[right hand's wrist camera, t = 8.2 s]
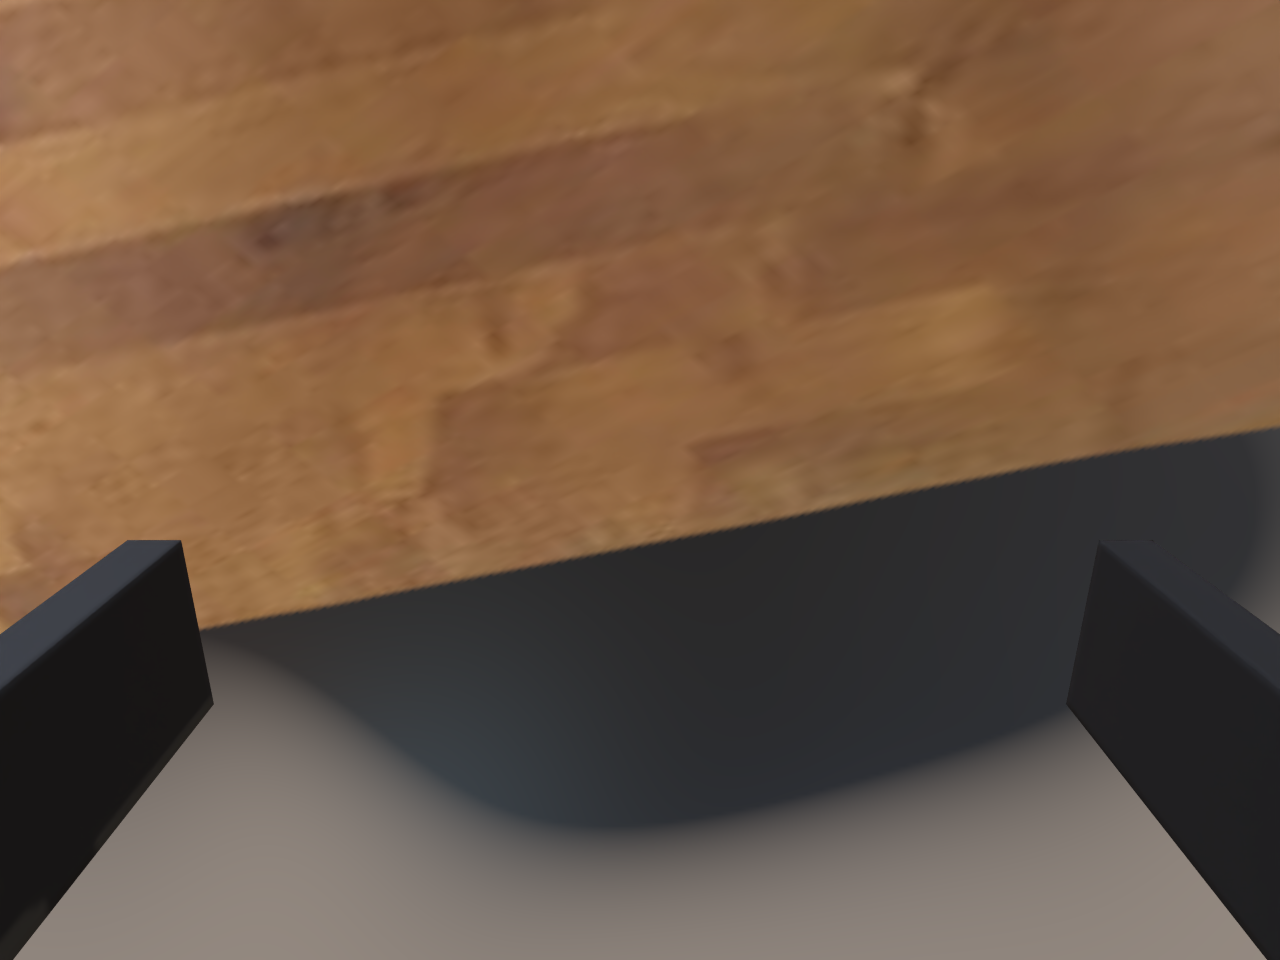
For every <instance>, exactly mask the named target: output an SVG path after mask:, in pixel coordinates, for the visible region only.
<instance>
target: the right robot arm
mask: <svg viewBox="0 0 1280 960" xmlns="http://www.w3.org/2000/svg"><path fill="white" fill-rule="evenodd" d="M213 704H214V703H213V698H212V693H211V688H210V683H209V678H208V673H207V668H206V663H205V658H204V653H203V648H202V643H201V638H200V633H199V628H198V623H197V618H196V613H195V608H194V603H193V598H192V593H191V588H190V583H189V578H188V573H187V568H186V563H185V558H184V553H183V548H182V543H181V540H127V541H126V542H125V543H123V544H122V545H120V546H119V547H118V548H116V549H115V550H114V551H112V552H111V553H110V554H108V555H107V556H106V557H104V558H103V559H102V560H100V561H99V562H97V563H96V564H95V565H93V566H92V567H91V568H89V569H88V570H87V571H85V572H84V573H83V574H81V575H80V576H79V577H77V578H76V579H74V580H73V581H72V582H70V583H69V584H68V585H66V586H65V587H64V588H62V589H61V590H60V591H58V592H57V593H56V594H54V595H53V596H51V597H50V598H49V599H47V600H46V601H45V602H43V603H42V604H41V605H39V606H38V607H37V608H35V609H34V610H33V611H31V612H30V613H28V614H27V615H26V616H24V617H23V618H22V619H20V620H19V621H18V622H16V623H15V624H14V625H12V626H11V627H10V628H8V629H7V630H5V631H4V632H3V633H1V634H0V960H13V959H14V958H15V956H16V955H17V954H18V953H19V951H20V950H21V949H22V947H23V946H24V945H25V944H26V942H27V941H28V940H29V939H30V937H31V936H32V935H33V934H34V932H35V931H36V930H37V928H38V927H39V926H40V925H41V923H42V922H43V921H44V920H45V918H46V917H47V916H48V914H49V913H50V912H51V911H52V909H53V908H54V907H55V906H56V904H57V903H58V902H59V900H60V899H61V898H62V897H63V895H64V894H65V893H66V892H67V890H68V889H69V888H70V886H71V885H72V884H73V883H74V881H75V880H76V879H77V877H78V876H79V875H80V874H81V872H82V871H83V870H84V869H85V867H86V866H87V865H88V864H89V862H90V861H91V860H92V858H93V857H94V856H95V855H96V853H97V852H98V851H99V850H100V848H101V847H102V846H103V844H104V843H105V842H106V841H107V839H108V838H109V837H110V836H111V834H112V833H113V832H114V830H115V829H116V828H117V827H118V825H119V824H120V823H121V822H122V820H123V819H124V818H125V816H126V815H127V814H128V813H129V811H130V810H131V809H132V808H133V806H134V805H135V804H136V802H137V801H138V800H139V799H140V797H141V796H142V795H143V793H144V792H145V791H146V790H147V788H148V787H149V786H150V785H151V783H152V782H153V781H154V780H155V778H156V777H157V776H158V774H159V773H160V772H161V771H162V769H163V768H164V767H165V765H166V764H167V763H168V762H169V760H170V759H171V758H172V757H173V755H174V754H175V753H176V752H177V750H178V749H179V748H180V746H181V745H182V744H183V742H184V741H185V740H186V739H187V737H188V736H189V735H190V734H191V732H192V731H193V730H194V729H195V727H196V726H197V725H198V724H199V722H200V721H201V720H202V718H203V717H204V716H205V715H206V713H207V712H208V711H209V710H210V708H211V707H212V706H213ZM1066 704H1067V706H1068V707H1069V708H1070V710H1071V711H1072V712H1073V713H1074V715H1075V716H1076V717H1077V718H1078V720H1079V721H1080V722H1081V724H1082V725H1083V726H1084V727H1085V729H1086V730H1087V731H1088V732H1089V734H1090V735H1091V736H1092V737H1093V739H1094V740H1095V741H1096V743H1097V744H1098V745H1099V746H1100V748H1101V749H1102V750H1103V752H1104V753H1105V754H1106V755H1107V757H1108V758H1109V759H1110V760H1111V762H1112V763H1113V764H1114V766H1115V767H1116V768H1117V769H1118V771H1119V772H1120V773H1121V774H1122V776H1123V777H1124V778H1125V779H1126V781H1127V782H1128V783H1129V785H1130V786H1131V787H1132V788H1133V790H1134V791H1135V792H1136V793H1137V795H1138V796H1139V797H1140V799H1141V800H1142V801H1143V802H1144V804H1145V805H1146V806H1147V808H1148V809H1149V810H1150V811H1151V813H1152V814H1153V815H1154V816H1155V818H1156V819H1157V820H1158V821H1159V823H1160V824H1161V825H1162V827H1163V828H1164V829H1165V830H1166V832H1167V833H1168V834H1169V836H1170V837H1171V838H1172V839H1173V841H1174V842H1175V843H1176V844H1177V846H1178V847H1179V848H1180V850H1181V851H1182V852H1183V853H1184V855H1185V856H1186V857H1187V858H1188V860H1189V861H1190V862H1191V864H1192V865H1193V866H1194V867H1195V869H1196V870H1197V871H1198V872H1199V874H1200V875H1201V876H1202V878H1203V879H1204V880H1205V881H1206V883H1207V884H1208V885H1209V886H1210V888H1211V889H1212V890H1213V892H1214V893H1215V894H1216V895H1217V897H1218V898H1219V899H1220V900H1221V902H1222V903H1223V904H1224V906H1225V907H1226V908H1227V909H1228V911H1229V912H1230V913H1231V914H1232V916H1233V917H1234V918H1235V920H1236V921H1237V922H1238V923H1239V925H1240V926H1241V927H1242V928H1243V930H1244V931H1245V932H1246V934H1247V935H1248V936H1249V937H1250V939H1251V940H1252V941H1253V942H1254V944H1255V945H1256V946H1257V948H1258V949H1259V950H1260V951H1261V953H1262V954H1263V955H1264V956H1265V958H1266V959H1267V960H1280V634H1279V633H1277V632H1276V631H1275V630H1273V629H1272V628H1270V627H1269V626H1268V625H1266V624H1265V623H1264V622H1262V621H1261V620H1260V619H1258V618H1257V617H1256V616H1254V615H1253V614H1252V613H1250V612H1249V611H1247V610H1246V609H1245V608H1243V607H1242V606H1241V605H1239V604H1238V603H1237V602H1235V601H1234V600H1233V599H1231V598H1230V597H1228V596H1227V595H1226V594H1224V593H1223V592H1222V591H1220V590H1219V589H1218V588H1216V587H1215V586H1214V585H1212V584H1211V583H1210V582H1208V581H1207V580H1206V579H1204V578H1203V577H1201V576H1200V575H1199V574H1197V573H1196V572H1195V571H1193V570H1192V569H1191V568H1189V567H1188V566H1186V565H1185V564H1184V563H1183V562H1181V561H1180V560H1178V559H1177V558H1176V557H1174V556H1173V555H1172V554H1170V553H1169V552H1168V551H1166V550H1165V549H1164V548H1162V547H1161V546H1160V545H1158V544H1157V543H1155V542H1154V541H1153V540H1099V543H1098V548H1097V553H1096V558H1095V563H1094V568H1093V573H1092V578H1091V583H1090V588H1089V593H1088V598H1087V603H1086V608H1085V613H1084V618H1083V623H1082V628H1081V633H1080V638H1079V643H1078V648H1077V653H1076V658H1075V663H1074V668H1073V673H1072V678H1071V683H1070V688H1069V693H1068V698H1067V703H1066Z"/></svg>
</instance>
